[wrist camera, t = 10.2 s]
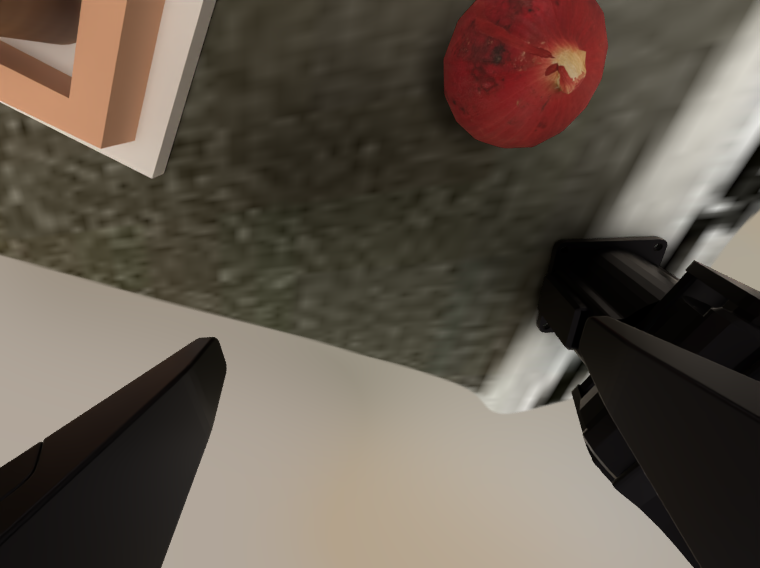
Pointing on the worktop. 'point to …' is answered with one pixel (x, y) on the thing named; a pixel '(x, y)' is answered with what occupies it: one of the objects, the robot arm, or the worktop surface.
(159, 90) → the mount board
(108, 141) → the socket
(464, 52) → the red oval fruit
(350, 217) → the worktop surface
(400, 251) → the worktop surface
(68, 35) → the gray-capped wooden tube
